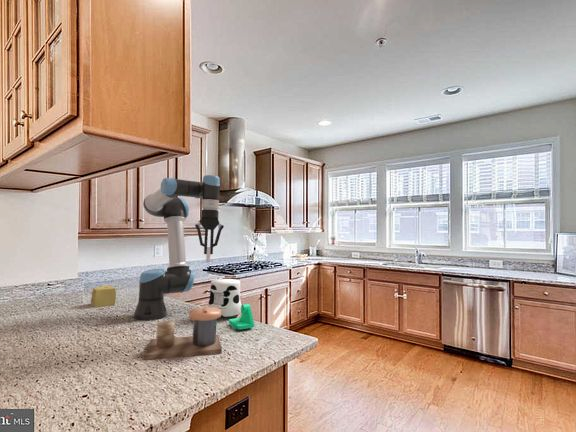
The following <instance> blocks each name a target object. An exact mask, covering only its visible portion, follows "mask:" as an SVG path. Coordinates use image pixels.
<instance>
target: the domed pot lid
mask: <svg viewBox="0 0 576 432" xmlns="http://www.w3.org/2000/svg"><path fill="white" fill-rule="evenodd" d="M220 317H221V309H219V308H214V307H208V306H203V307H201V306H200V307H196V308H192V309H190V310H189V311H188V319H190V320H191V321H193V320H198V321H207V320H214V319H221V318H220Z"/></svg>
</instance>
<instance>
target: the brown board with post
mask: <svg viewBox="0 0 576 432" xmlns="http://www.w3.org/2000/svg"><path fill="white" fill-rule="evenodd" d="M175 325H176V323H175V321H171V320H166V321H160V322H158V323H157V329H156V338H150V339H149V342H148V345H147V348H146V350H145V353H144V356H143V357H144V358H143V360H154V359H155V360H156V359H168V358H179V357H189V356H204V355H216V354H217V355H218V354H222V352H223V351H222V349H223V348H222V344H221V340H220V336H219V334H216V342H215V343H214V344H213V345H210V346H205V347H200V346H195V345H193V343H192V340H193V335H192V336H181V337H179V336H178V337H175V328H176V327H175Z"/></svg>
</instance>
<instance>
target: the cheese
mask: <svg viewBox="0 0 576 432" xmlns="http://www.w3.org/2000/svg"><path fill="white" fill-rule="evenodd" d="M116 299H117V290H116V287H114V286H112V285H102V286H98V287H94V288H93V289H92V291H91V297H90V304H91V305H92V307H94V308H102V307H109V306H111V307H112V306H115V304H116Z"/></svg>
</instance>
